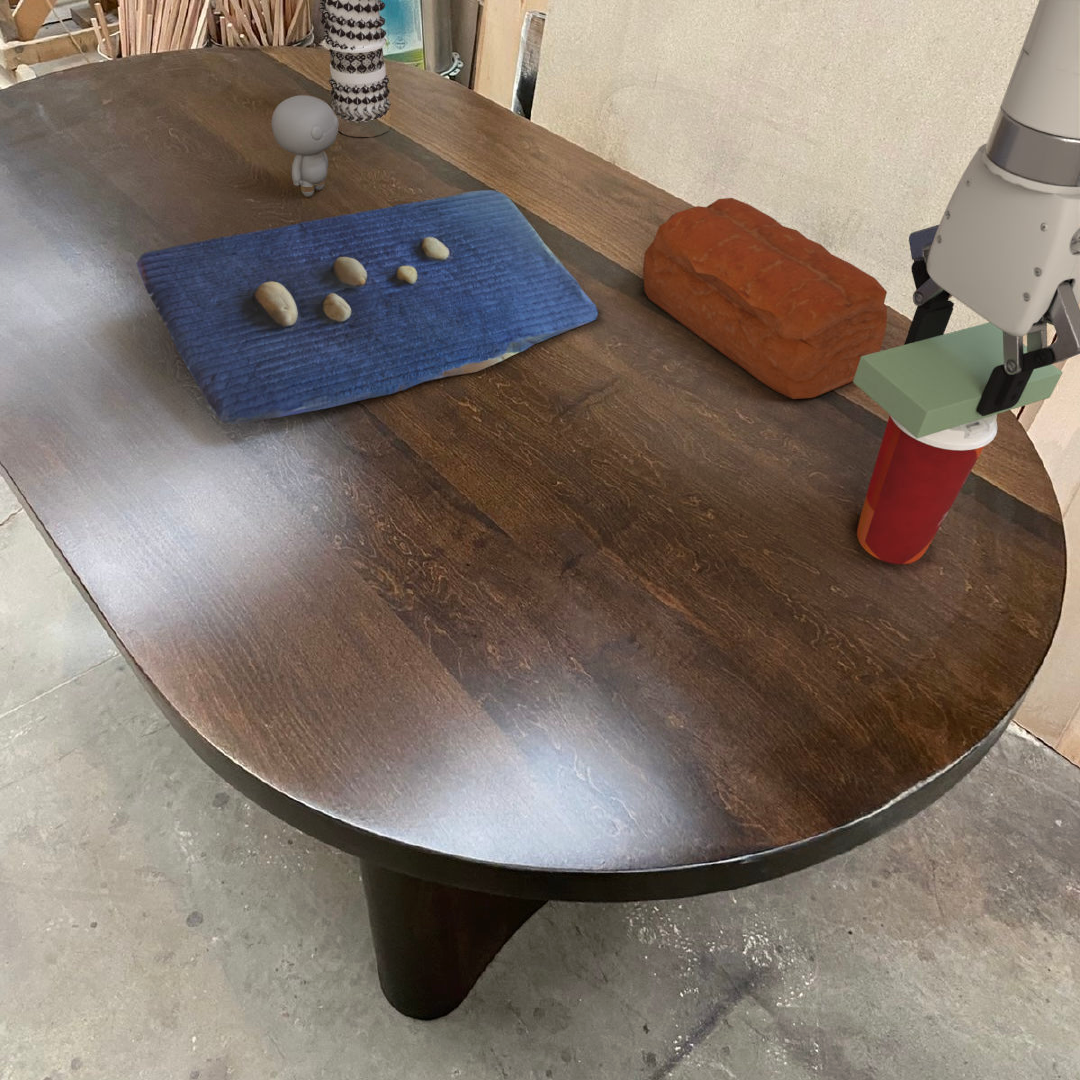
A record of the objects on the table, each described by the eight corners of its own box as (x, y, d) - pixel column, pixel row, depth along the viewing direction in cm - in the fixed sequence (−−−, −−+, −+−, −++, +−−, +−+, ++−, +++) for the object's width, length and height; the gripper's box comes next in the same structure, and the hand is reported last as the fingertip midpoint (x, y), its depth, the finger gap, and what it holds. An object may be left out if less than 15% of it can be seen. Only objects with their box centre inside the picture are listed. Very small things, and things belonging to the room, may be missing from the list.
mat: (472, 236, 126) (490, 160, 117) (589, 384, 116) (618, 314, 107) (125, 315, 104) (113, 230, 95) (232, 505, 95) (231, 431, 85)
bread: (725, 260, 119) (741, 176, 112) (890, 367, 104) (921, 278, 96) (625, 293, 113) (635, 206, 105) (785, 412, 97) (810, 321, 90)
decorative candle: (330, 139, 140) (306, -57, 123) (333, 114, 147) (312, -76, 129) (393, 139, 141) (379, -56, 124) (394, 114, 148) (381, -74, 130)
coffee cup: (959, 560, 83) (1027, 422, 72) (880, 584, 81) (939, 444, 70) (899, 498, 88) (955, 361, 78) (824, 519, 86) (871, 380, 75)
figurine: (320, 211, 124) (308, 117, 116) (272, 198, 126) (256, 104, 118) (355, 187, 129) (345, 95, 121) (308, 175, 132) (296, 84, 123)
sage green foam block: (980, 347, 78) (992, 321, 76) (1050, 398, 73) (1063, 371, 71) (852, 382, 74) (860, 355, 72) (916, 438, 69) (927, 412, 67)
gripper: (1212, 196, 56) (1080, 434, 68) (997, 89, 67) (916, 312, 79) (1121, 217, 53) (1001, 460, 66) (912, 103, 64) (843, 330, 77)
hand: (955, 378), depth 73 cm, fingers closed on sage green foam block, 7 cm apart
